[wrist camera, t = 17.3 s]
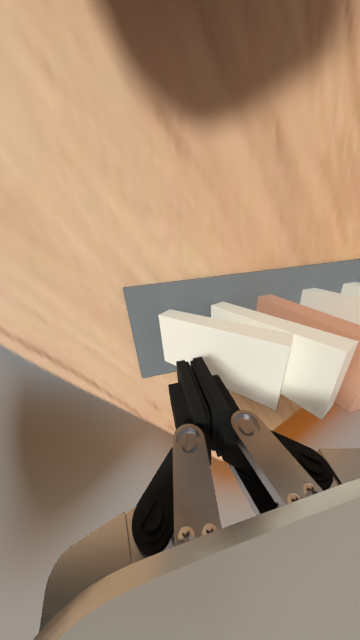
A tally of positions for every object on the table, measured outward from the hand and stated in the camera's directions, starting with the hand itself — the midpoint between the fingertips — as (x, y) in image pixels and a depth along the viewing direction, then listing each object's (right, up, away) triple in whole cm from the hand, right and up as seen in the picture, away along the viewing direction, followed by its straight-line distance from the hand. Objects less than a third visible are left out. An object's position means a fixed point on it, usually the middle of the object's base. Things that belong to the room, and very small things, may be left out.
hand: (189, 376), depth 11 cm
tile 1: (-2, +2, +5) cm, 6 cm away
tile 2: (+3, +3, +7) cm, 8 cm away
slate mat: (+8, +4, +8) cm, 12 cm away
